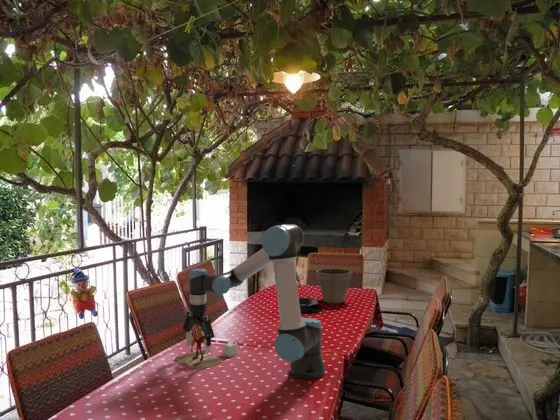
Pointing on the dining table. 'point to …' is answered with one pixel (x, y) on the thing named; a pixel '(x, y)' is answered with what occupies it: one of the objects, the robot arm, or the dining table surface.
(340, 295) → the plant pot
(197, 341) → the action figure
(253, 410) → the dining table surface
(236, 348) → the die
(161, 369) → the dining table surface
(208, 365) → the board
